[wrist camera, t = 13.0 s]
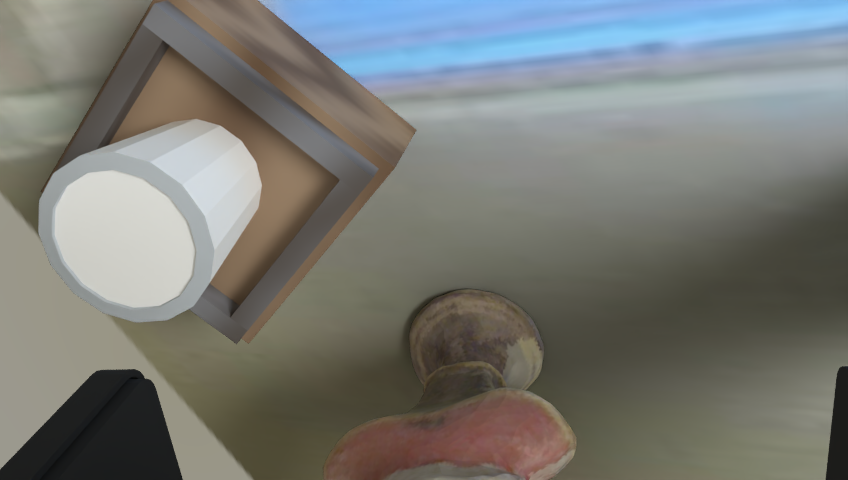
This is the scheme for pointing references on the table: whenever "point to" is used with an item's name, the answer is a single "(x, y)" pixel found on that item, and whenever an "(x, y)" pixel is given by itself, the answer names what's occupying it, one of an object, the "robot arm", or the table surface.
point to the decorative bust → (465, 403)
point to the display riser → (253, 137)
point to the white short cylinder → (149, 218)
